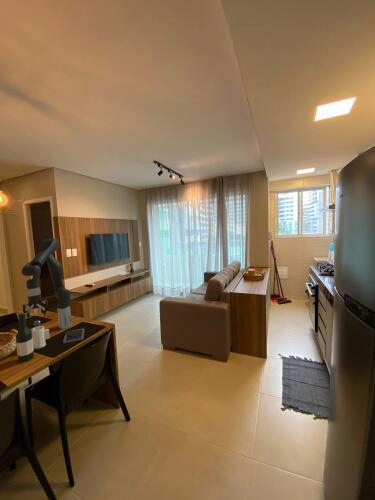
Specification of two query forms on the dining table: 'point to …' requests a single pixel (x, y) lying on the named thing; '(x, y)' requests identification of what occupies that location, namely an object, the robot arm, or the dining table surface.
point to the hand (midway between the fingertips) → (36, 316)
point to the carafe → (39, 337)
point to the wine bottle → (24, 341)
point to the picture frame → (73, 336)
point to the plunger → (37, 323)
